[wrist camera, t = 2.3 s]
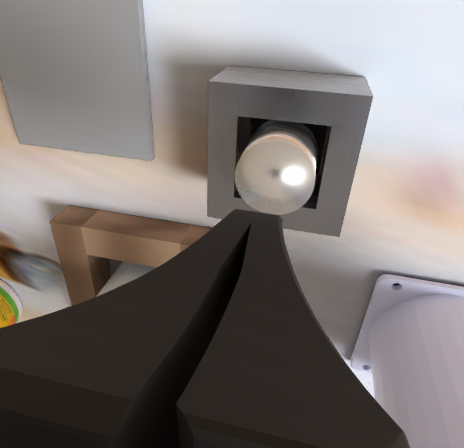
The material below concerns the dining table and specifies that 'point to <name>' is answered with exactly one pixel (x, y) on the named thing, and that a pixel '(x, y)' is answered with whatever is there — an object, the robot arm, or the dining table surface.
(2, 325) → the supplement bottle
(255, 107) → the plunger collar
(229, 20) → the dining table surface
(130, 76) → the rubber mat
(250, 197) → the plunger button
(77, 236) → the walnut housing
